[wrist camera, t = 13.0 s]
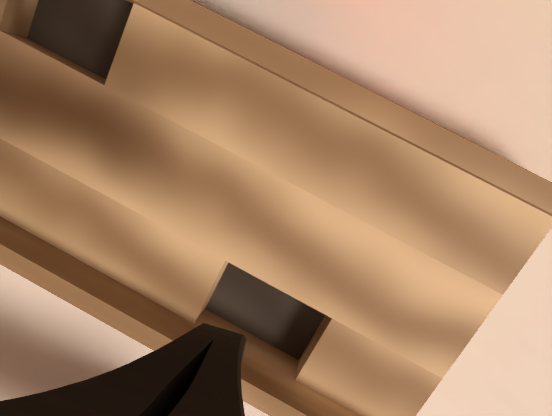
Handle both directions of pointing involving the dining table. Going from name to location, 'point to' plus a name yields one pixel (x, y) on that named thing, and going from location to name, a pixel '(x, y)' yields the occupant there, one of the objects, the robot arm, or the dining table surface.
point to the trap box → (250, 202)
